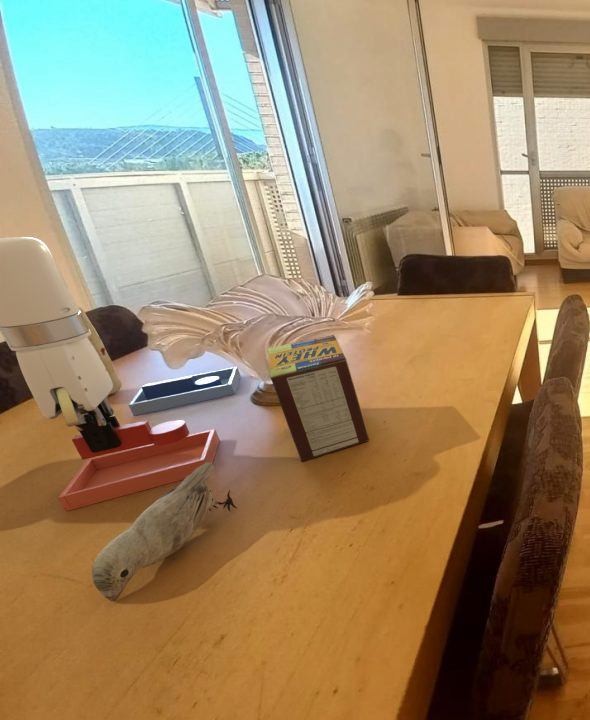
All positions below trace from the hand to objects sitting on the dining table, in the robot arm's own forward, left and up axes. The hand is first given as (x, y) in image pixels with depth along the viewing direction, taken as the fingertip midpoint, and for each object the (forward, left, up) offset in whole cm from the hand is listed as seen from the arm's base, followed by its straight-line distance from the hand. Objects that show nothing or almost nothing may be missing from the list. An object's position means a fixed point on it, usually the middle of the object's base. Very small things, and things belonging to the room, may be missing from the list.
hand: (109, 444), depth 72 cm
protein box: (+28, -3, -6) cm, 29 cm away
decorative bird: (+10, -24, -6) cm, 27 cm away
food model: (-15, +44, -6) cm, 47 cm away
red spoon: (+3, 0, -1) cm, 3 cm away
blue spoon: (+2, +33, -6) cm, 34 cm away
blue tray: (+3, +33, -6) cm, 34 cm away
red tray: (+3, 0, -6) cm, 7 cm away
